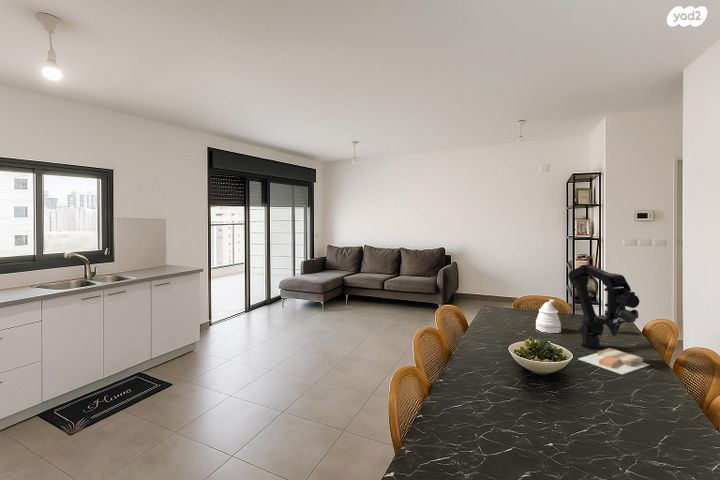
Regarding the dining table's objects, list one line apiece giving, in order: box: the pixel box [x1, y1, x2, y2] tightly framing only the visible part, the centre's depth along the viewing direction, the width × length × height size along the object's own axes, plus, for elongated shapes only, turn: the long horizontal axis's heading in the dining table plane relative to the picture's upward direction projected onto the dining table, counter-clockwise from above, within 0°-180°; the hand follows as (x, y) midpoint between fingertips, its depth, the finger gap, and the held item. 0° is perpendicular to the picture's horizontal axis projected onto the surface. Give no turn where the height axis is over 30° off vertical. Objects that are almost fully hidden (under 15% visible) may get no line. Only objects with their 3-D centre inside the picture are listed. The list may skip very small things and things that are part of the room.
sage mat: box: [577, 352, 650, 375], centre depth 161 cm, size 19×19×1 cm
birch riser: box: [597, 347, 644, 367], centre depth 163 cm, size 14×9×2 cm, turn 24°
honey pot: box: [535, 299, 562, 334], centre depth 208 cm, size 13×13×18 cm
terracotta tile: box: [599, 356, 620, 368], centre depth 159 cm, size 5×8×2 cm, turn 123°
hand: (614, 335), depth 165 cm, fingers closed
